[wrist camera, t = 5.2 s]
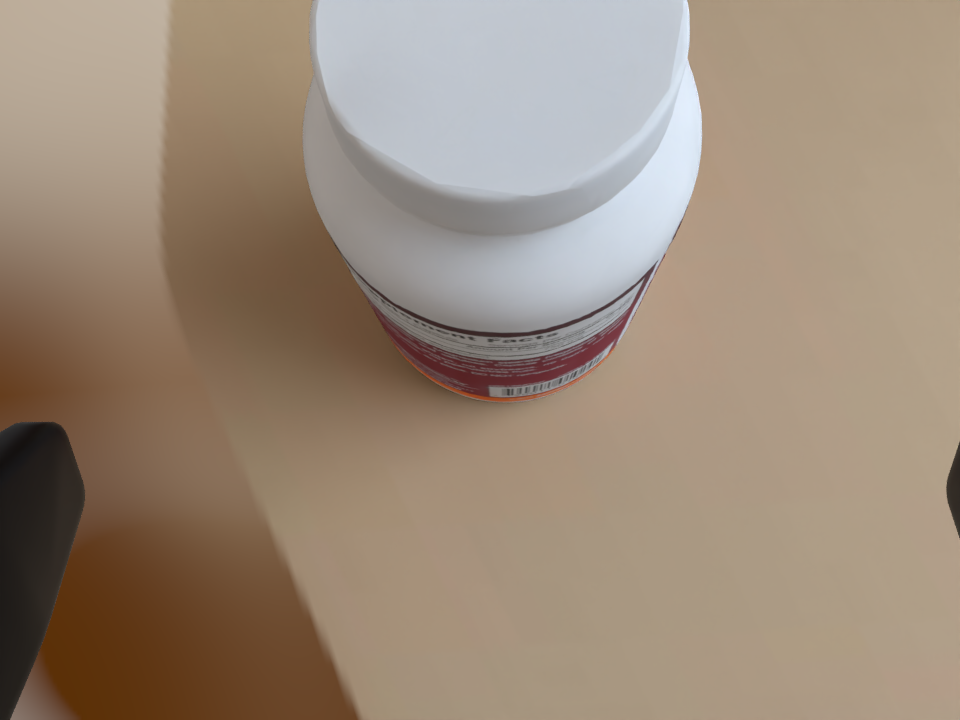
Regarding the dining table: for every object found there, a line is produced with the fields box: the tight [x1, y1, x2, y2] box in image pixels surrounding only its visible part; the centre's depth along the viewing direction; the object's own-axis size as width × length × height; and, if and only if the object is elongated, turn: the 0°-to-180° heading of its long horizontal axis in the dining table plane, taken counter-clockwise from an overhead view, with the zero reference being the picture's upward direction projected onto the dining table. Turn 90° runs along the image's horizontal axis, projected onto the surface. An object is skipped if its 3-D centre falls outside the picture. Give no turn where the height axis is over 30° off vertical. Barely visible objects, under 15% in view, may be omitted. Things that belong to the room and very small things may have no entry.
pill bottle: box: [303, 0, 702, 403], centre depth 17 cm, size 6×6×11 cm
